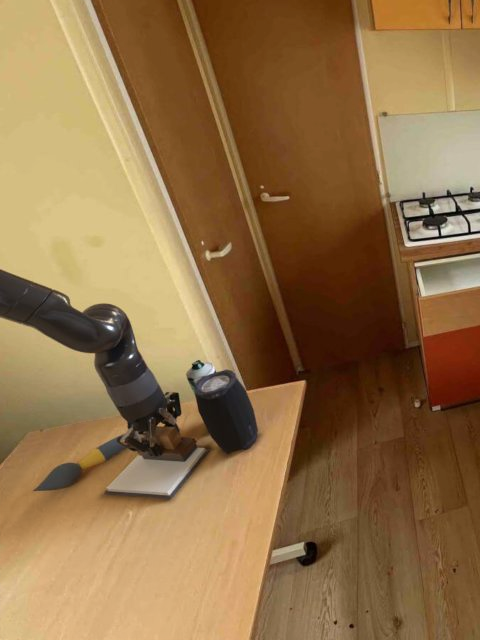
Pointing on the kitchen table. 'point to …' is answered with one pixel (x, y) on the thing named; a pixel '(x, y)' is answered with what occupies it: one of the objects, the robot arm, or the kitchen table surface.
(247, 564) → the kitchen table surface
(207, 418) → the portable speaker
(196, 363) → the spray can
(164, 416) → the robot arm
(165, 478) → the tile
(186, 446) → the two-tone stacked block
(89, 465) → the paintbrush
